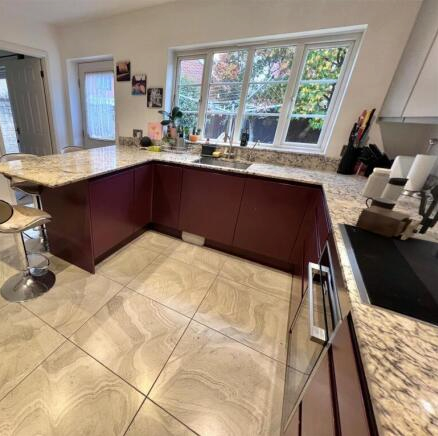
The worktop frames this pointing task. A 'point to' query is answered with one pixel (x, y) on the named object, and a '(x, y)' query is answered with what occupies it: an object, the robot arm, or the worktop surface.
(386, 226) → the cabinet
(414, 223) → the drawer
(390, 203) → the coffee mug
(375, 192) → the jar
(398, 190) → the travel mug
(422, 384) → the worktop surface
